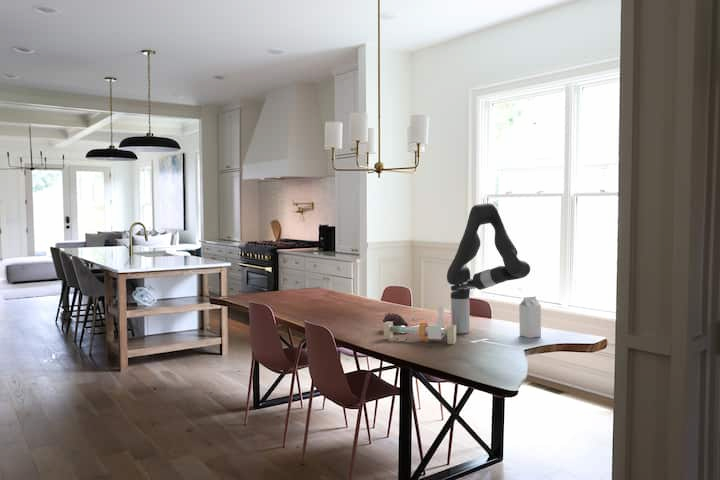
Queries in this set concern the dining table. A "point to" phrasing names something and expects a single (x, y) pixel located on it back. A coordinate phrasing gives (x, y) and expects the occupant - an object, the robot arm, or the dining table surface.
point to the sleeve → (436, 327)
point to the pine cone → (395, 319)
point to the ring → (423, 330)
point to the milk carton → (530, 317)
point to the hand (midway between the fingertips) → (457, 288)
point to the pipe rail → (404, 329)
